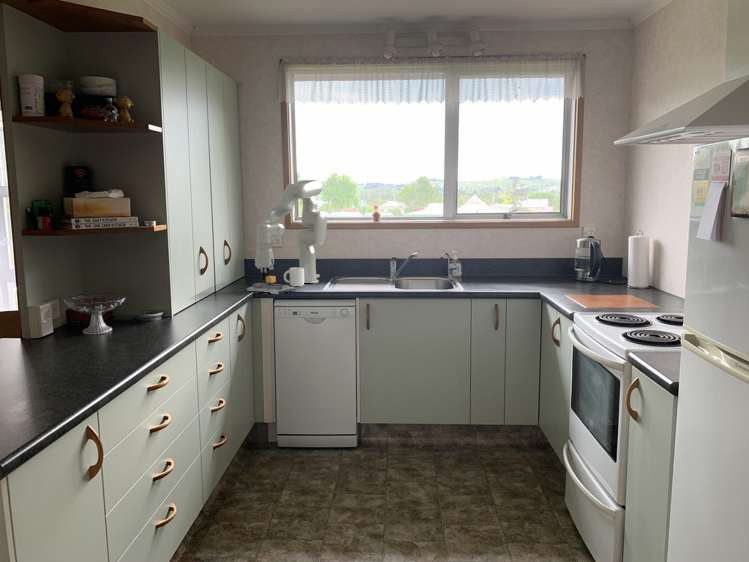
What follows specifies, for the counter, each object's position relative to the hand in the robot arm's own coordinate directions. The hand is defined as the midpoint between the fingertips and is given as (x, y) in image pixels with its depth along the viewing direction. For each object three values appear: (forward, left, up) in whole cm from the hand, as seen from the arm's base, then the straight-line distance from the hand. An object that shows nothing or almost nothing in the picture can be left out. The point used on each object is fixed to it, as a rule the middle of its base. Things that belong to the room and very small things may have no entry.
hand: (265, 279), depth 331 cm
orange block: (0, +4, -4) cm, 5 cm away
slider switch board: (0, +3, -6) cm, 7 cm away
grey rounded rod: (0, -9, -6) cm, 10 cm away
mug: (-20, +4, -6) cm, 21 cm away
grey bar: (0, +15, -6) cm, 16 cm away
